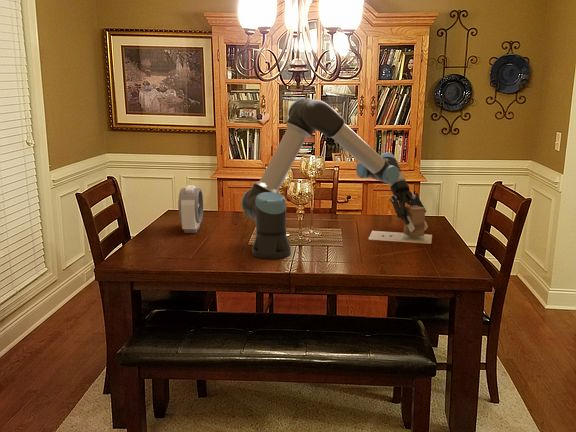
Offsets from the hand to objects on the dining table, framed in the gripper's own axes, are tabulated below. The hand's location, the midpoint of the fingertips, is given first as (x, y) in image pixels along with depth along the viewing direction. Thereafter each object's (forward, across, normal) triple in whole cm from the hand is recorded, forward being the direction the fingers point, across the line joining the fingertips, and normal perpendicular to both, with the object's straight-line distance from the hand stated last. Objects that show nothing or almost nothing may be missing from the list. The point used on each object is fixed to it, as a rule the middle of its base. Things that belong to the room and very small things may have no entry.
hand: (419, 229), depth 244 cm
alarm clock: (-38, +81, -46) cm, 101 cm away
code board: (-1, +4, -9) cm, 10 cm away
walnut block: (0, 0, -5) cm, 5 cm away
